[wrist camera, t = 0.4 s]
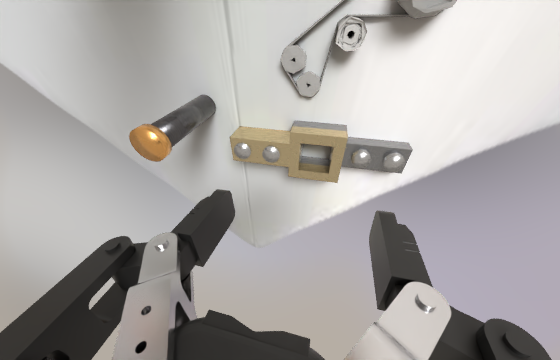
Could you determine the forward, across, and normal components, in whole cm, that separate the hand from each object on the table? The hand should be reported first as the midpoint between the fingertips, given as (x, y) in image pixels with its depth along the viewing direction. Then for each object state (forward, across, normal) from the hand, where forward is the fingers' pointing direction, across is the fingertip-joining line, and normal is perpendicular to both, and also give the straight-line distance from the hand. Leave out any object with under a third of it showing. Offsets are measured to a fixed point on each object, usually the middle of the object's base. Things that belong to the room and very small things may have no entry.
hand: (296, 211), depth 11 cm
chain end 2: (+22, -3, +6) cm, 23 cm away
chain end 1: (+22, +5, +5) cm, 23 cm away
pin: (+21, +19, -1) cm, 28 cm away
